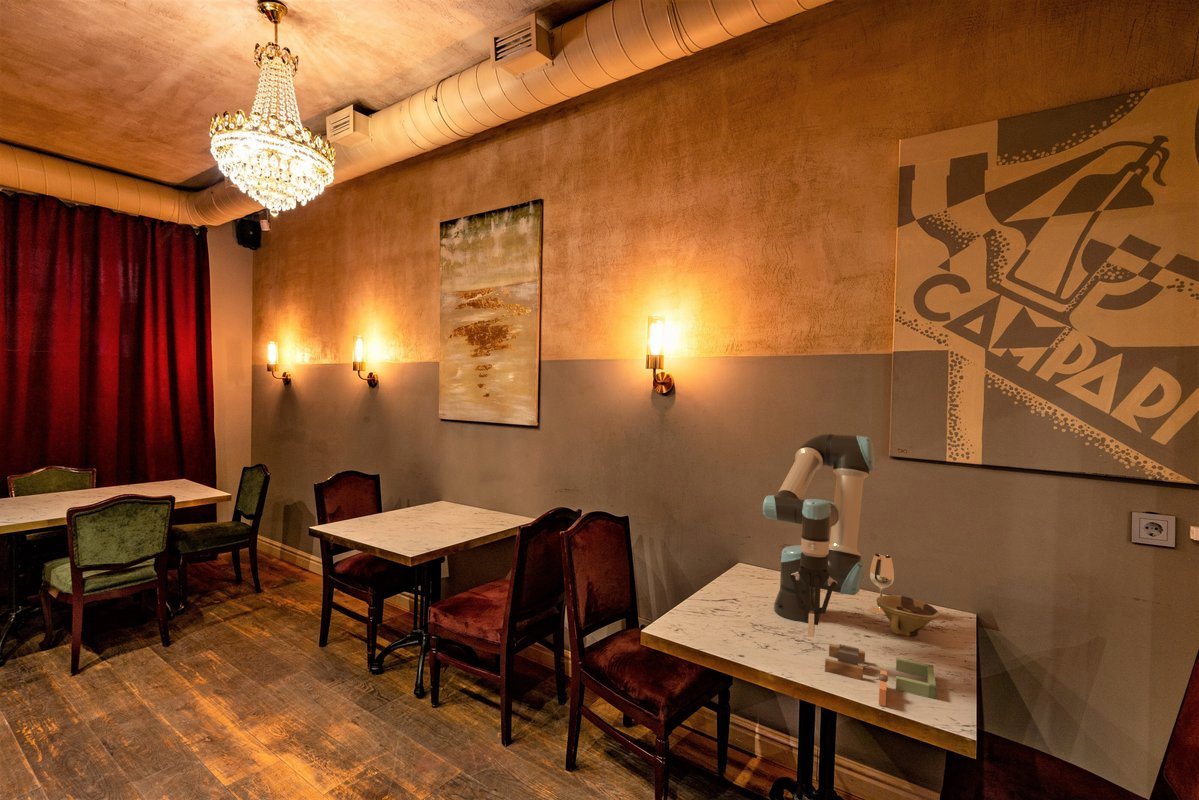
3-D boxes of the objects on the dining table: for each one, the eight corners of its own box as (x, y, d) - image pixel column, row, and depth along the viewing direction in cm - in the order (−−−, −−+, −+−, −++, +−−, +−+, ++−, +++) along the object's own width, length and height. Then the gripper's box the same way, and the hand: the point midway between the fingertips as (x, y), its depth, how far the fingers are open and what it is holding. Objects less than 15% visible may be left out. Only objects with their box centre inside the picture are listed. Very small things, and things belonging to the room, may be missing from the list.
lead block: (837, 669, 160) (838, 651, 160) (839, 661, 164) (839, 644, 164) (857, 673, 158) (857, 655, 157) (858, 666, 162) (858, 648, 162)
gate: (877, 704, 141) (878, 684, 141) (878, 684, 151) (879, 666, 151) (886, 706, 141) (887, 686, 140) (887, 686, 150) (888, 667, 150)
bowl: (919, 649, 174) (920, 618, 173) (864, 627, 189) (865, 599, 189) (949, 637, 183) (950, 608, 183) (895, 617, 198) (896, 590, 198)
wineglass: (864, 607, 207) (866, 552, 207) (884, 607, 208) (886, 552, 208) (876, 615, 199) (878, 559, 199) (897, 615, 200) (899, 559, 200)
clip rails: (824, 671, 158) (825, 660, 158) (829, 654, 169) (829, 644, 169) (862, 680, 154) (862, 669, 154) (864, 662, 164) (865, 651, 164)
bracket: (895, 689, 149) (896, 678, 149) (895, 667, 161) (896, 657, 161) (935, 699, 145) (936, 687, 145) (932, 676, 157) (933, 665, 157)
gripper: (789, 552, 165) (785, 634, 165) (837, 560, 159) (834, 644, 159) (793, 547, 171) (789, 625, 171) (840, 554, 165) (836, 635, 165)
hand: (811, 634), depth 165 cm, fingers closed
